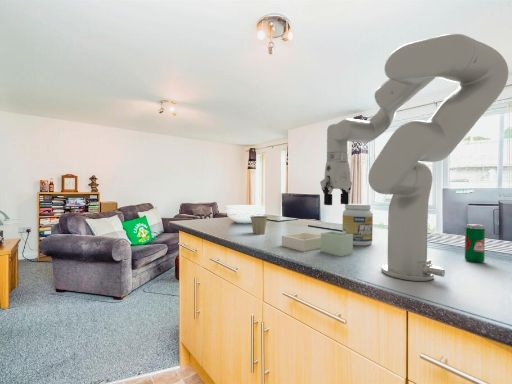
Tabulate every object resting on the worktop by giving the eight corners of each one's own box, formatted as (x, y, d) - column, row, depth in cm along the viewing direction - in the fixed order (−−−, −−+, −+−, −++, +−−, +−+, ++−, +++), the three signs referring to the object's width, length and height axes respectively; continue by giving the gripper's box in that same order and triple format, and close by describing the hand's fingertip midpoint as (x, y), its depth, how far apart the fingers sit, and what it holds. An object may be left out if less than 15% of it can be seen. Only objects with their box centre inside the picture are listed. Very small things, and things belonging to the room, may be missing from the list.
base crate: (327, 247, 108) (328, 236, 108) (303, 252, 100) (303, 240, 100) (305, 242, 118) (305, 232, 118) (281, 246, 109) (281, 235, 109)
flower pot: (247, 232, 141) (247, 216, 141) (263, 231, 145) (263, 215, 145) (254, 235, 132) (254, 218, 132) (271, 234, 136) (271, 217, 136)
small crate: (352, 253, 97) (352, 234, 97) (340, 256, 93) (341, 236, 93) (332, 249, 104) (332, 231, 104) (320, 251, 100) (320, 233, 100)
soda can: (476, 263, 84) (477, 226, 84) (460, 259, 89) (461, 224, 89) (488, 262, 86) (489, 225, 85) (472, 258, 90) (472, 223, 90)
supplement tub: (356, 247, 107) (356, 205, 107) (336, 241, 119) (336, 203, 118) (378, 245, 112) (379, 204, 112) (357, 239, 123) (358, 203, 123)
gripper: (330, 155, 90) (329, 206, 90) (359, 159, 100) (359, 204, 101) (313, 157, 96) (312, 204, 96) (342, 160, 106) (342, 203, 107)
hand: (336, 204), depth 99 cm, fingers open, 9 cm apart
